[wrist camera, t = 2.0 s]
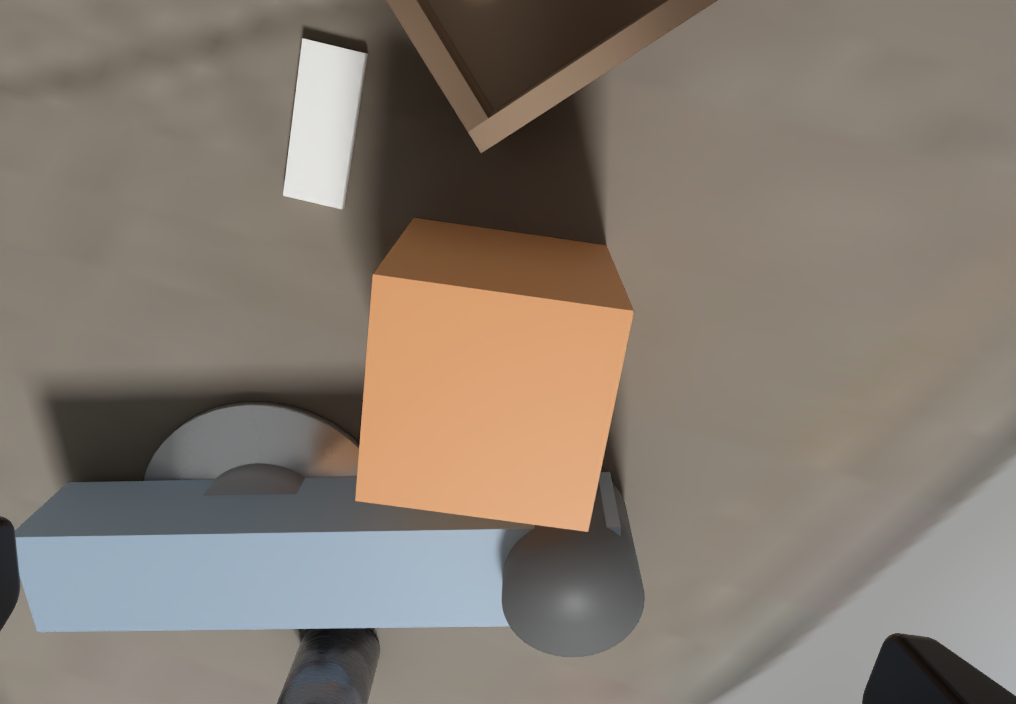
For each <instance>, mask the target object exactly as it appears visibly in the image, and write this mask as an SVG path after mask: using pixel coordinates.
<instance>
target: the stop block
mask: <svg viewBox="0 0 1016 704" xmlns="http://www.w3.org/2000/svg"><path fill="white" fill-rule="evenodd" d="M633 313H634V310H633V308H632V305H631V303H630V300H629V298H628V296H627V293H626V291H625V288H624V286H623V284H622V281H621V279H620V277H619V274H618V272H617V269H616V267H615V265H614V262H613V260H612V257H611V255H610V253H609V250H608V248H607V245H601V244H594V243H587V242H580V241H573V240H566V239H559V238H552V237H545V236H538V235H531V234H524V233H517V232H510V231H503V230H496V229H489V228H482V227H475V226H468V225H461V224H454V223H447V222H440V221H433V220H426V219H419V218H413V220H412V221H411V222H410V224H409V225H408V227H407V228H406V229H405V231H404V232H403V233H402V235H401V236H400V238H399V239H398V240H397V242H396V243H395V244H394V246H393V247H392V249H391V250H390V251H389V253H388V254H387V255H386V257H385V258H384V260H383V261H382V262H381V264H380V265H379V266H378V268H377V269H376V271H375V272H374V273H373V278H372V291H371V304H370V317H369V329H368V342H367V355H366V368H365V381H364V393H363V406H362V419H361V432H360V445H359V457H358V470H357V483H356V496H355V501H359V502H367V503H374V504H382V505H389V506H397V507H404V508H412V509H419V510H427V511H434V512H442V513H450V514H457V515H465V516H472V517H480V518H487V519H495V520H502V521H510V522H517V523H525V524H532V525H540V526H547V527H555V528H562V529H570V530H577V531H585V532H588V530H589V525H590V521H591V516H592V511H593V506H594V501H595V496H596V492H597V487H598V482H599V477H600V472H601V467H602V463H603V458H604V453H605V448H606V443H607V439H608V434H609V429H610V424H611V419H612V414H613V410H614V405H615V400H616V395H617V390H618V385H619V381H620V376H621V371H622V366H623V361H624V356H625V352H626V347H627V342H628V337H629V332H630V327H631V323H632V318H633Z"/></svg>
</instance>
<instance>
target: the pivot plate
mask: <svg viewBox="0 0 1016 704" xmlns="http://www.w3.org/2000/svg"><path fill="white" fill-rule="evenodd" d="M359 445H360V443H359V442H358V441H356V440H355V439H354V438H353V437H352V436H351V435H350V434H348V433H347V432H345V431H344V430H343V429H341V428H340V427H338V426H337V425H335V424H333V423H332V422H330V421H328V420H326V419H324V418H322V417H321V416H318V415H316V414H313V413H311V412H308V411H306V410H303V409H299V408H296V407H292V406H289V405H283V404H277V403H271V402H243V403H233V404H229V405H224V406H219V407H216V408H214V409H211V410H208V411H205V412H203V413H201V414H199V415H197V416H195V417H193V418H191V419H190V420H188V421H187V422H185V423H184V424H183V425H181V426H180V427H179V428H177V429H176V430H175V431H174V432H173V433H172V434H171V435H170V436H169V437H168V438H167V439H166V440H165V441H164V442H163V443H162V445H161V446H160V447H159V449H158V450H157V451H156V453H155V454H154V456H153V458H152V460H151V462H150V464H149V466H148V467H147V470H146V473H145V477H144V480H143V481H168V480H215V479H216V478H217V477H218V476H219V475H221V474H222V473H224V472H226V471H228V470H230V469H232V468H235V467H237V466H241V465H246V464H255V463H263V464H272V465H277V466H281V467H285V468H287V469H290V470H292V471H294V472H296V473H298V474H300V475H302V476H303V477H305V478H322V477H357V470H358V457H359Z"/></svg>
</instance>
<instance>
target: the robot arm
mask: <svg viewBox="0 0 1016 704" xmlns="http://www.w3.org/2000/svg"><path fill="white" fill-rule="evenodd" d="M19 592H20V576H19V566H18V557H17V547H16V538H15V531H14V527H13V525H12V523H11V522H10V521H9V520H8V519H6V518H4V517H0V631H1V629H2V628H3V626H4V625H5V623H6V621H7V620H8V618H9V616H10V615H11V613H12V611H13V609H14V608H15V605H16V603H17V600H18V597H19ZM862 704H1016V696H1015V695H1013V694H1012V693H1011V692H1009V691H1007V690H1006V689H1005V688H1003V687H1002V686H1000V685H999V684H998V683H996V682H995V681H993V680H991V679H990V678H989V677H987V676H986V675H985V674H983V673H982V672H980V671H979V670H977V669H976V668H974V667H973V666H972V665H970V664H969V663H968V662H966V661H965V660H963V659H962V658H960V657H959V656H958V655H956V654H955V653H953V652H952V651H950V650H949V649H947V648H946V647H945V646H943V645H942V644H940V643H939V642H937V641H936V640H934V639H932V638H929V637H923V636H915V635H907V634H900V633H895V634H892V635H890V636H889V637H887V638H886V639H885V641H884V643H883V645H882V647H881V650H880V652H879V655H878V657H877V660H876V662H875V665H874V667H873V670H872V673H871V675H870V678H869V680H868V683H867V685H866V688H865V691H864V695H863V701H862Z"/></svg>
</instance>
